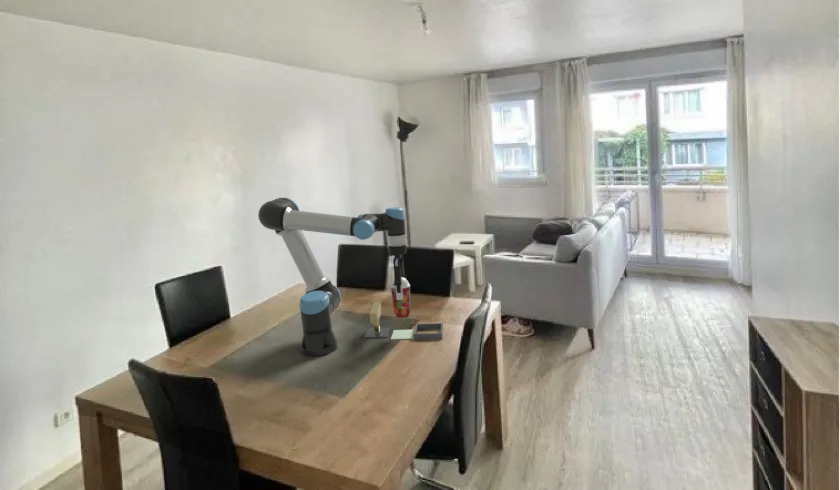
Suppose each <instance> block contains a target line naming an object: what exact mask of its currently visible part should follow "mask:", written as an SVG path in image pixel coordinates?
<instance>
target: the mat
mask: <svg viewBox="0 0 840 490" xmlns="http://www.w3.org/2000/svg"><path fill="white" fill-rule="evenodd" d="M414 331H415V329H394V330H393V331H392V335H391V337H390V341H391V340H392V341H393V340H394V341H398V340H402V341H403V340H414Z"/></svg>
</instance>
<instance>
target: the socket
mask: <svg viewBox="0 0 840 490" xmlns="http://www.w3.org/2000/svg"><path fill="white" fill-rule="evenodd" d="M414 330H415V331H414V339H413V340H417V341H418V340H420V341H421V340H442V339H443V334H444V322H431V323H430V322H429V323H416V324H415V327H414ZM420 330H421V331H422V330H440V332H425V333H421V332H420V333H418V331H420Z"/></svg>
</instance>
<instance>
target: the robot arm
mask: <svg viewBox="0 0 840 490" xmlns="http://www.w3.org/2000/svg"><path fill="white" fill-rule="evenodd" d="M404 213H405V212H404V209H403V207H400V206H399V207H398V206H395V207H388V208H385V212H383V213H363V214H362V213H361V214H359V215H358V216H357V217H355V216H345V215H337V214H330V213H321V212H310V211H304V210H300V207H299V205H298V204H297V203H296V201H294V200H293V199H291V198H289V197H278V198H275V199H273V200H272V199H271V200H270V201H266V202H265V203H263V204H262V205H261V206H260V207H259V210H258V216H257V217H258V220H259V222H260V224H261V225H262V226H263V227H264V228H266V229H269V230H272V231H274V232H275V234H276V235H277V236H279V237H280V236H281V237H282V240H283V242H284V243H285V246H286V248H287V249H288V252H289V254H290V255H291V258H292V260H293V261H294V264H295V266H296V268H297V270H298V271H299V274H300V276H301V277H302V279H303V281H304V284H305V285H306V287H305V291H304V292H305V294H303V295H302V296H301V297H300V298H299V310H300V318H301V326H302V327H301V328H302V337H301V342H300V353H301V354H303V355H304V356H308V357H319V356H325V355H328V354H330V353H333V352H335V351H336V350H337V349H338V347H339V346H338V344H339V343H338V339H337V337H336V335H335V333H334V331H333V328H332V319H331V317H332V316H331V315H333V313H334V312H335V310H337V309H338V307H339V305H340V303H341V299H342V297H341V296H342V295H341V291H340V290H339V288H338V287H337V286H336V285H334V284H333V283H332V281H331V279H330V278H327V277H326V276H325V275H324V273H323V271H322V269H321V267H320V265H319V263H318V261H317V259H316V256H315V255H314V253H313V250H312V248H311V246H310V244H309V243H308V240H307V237H305V236H306V235H304V232H303V231H305V232H311V233H312V232H314V233H323V234H331V235H339V236H346V237H347V236H348V237H349V236H350V237H356V238H357V239H359V240H362V241H365V240H367V239H368V240H369V239H370V238H371V237H372V236H374V234H375V233H377V232H386V234H387V235H386V236H387V244H388V246H387V247H388V254H389V255H390V256H394V257H393V258H392V259H393V260H392V265H393V274H394V275H393V280H394V281H395V283H394V285H395V286H396V299H397V300H403V290H402V283H401V277H404V278H406V279H407V275H406V273H405V262H404V255H405V254H407V250H408V249H407V244H406V243H407V238H408V236H406V225H405V224H406V222H405V221H406V220H405V214H404Z"/></svg>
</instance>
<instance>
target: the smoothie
mask: <svg viewBox="0 0 840 490" xmlns="http://www.w3.org/2000/svg"><path fill="white" fill-rule="evenodd" d="M394 283H395V281H394V279H393V280H392V282H391V285H390V291H391V296H392V305H393V313H394V315H395V317H396V318H400V319H404V318H408V317H409V316H410V313H411V284H410V283H409V281H408V280H407V277H406V278H404V277H401V283H402V290H403V300H397V299H396V286H395V285H394Z"/></svg>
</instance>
